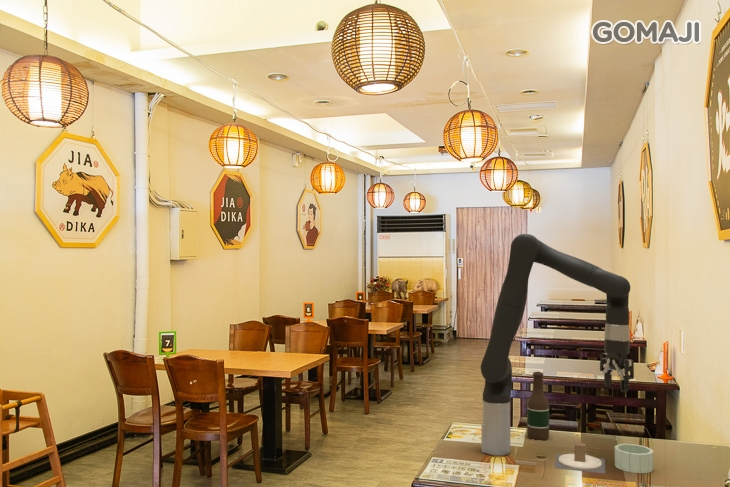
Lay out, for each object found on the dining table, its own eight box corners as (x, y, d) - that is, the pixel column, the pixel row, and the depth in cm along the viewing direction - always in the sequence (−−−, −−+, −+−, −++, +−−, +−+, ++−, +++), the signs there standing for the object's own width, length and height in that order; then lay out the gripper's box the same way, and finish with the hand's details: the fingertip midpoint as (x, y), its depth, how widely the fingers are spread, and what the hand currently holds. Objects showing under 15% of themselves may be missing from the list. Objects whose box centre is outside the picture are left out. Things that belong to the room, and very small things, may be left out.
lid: (557, 467, 197) (557, 447, 197) (559, 454, 209) (559, 436, 210) (601, 472, 193) (601, 452, 193) (601, 459, 205) (601, 440, 205)
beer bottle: (550, 441, 226) (549, 374, 227) (527, 440, 228) (527, 373, 228) (548, 435, 234) (548, 370, 234) (526, 434, 235) (526, 370, 236)
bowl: (615, 471, 194) (615, 452, 194) (614, 461, 205) (614, 442, 205) (654, 476, 190) (654, 456, 191) (651, 464, 201) (651, 446, 201)
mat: (554, 469, 197) (554, 467, 197) (556, 454, 211) (556, 453, 211) (605, 474, 191) (605, 473, 191) (604, 459, 206) (604, 458, 206)
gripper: (593, 335, 207) (592, 384, 207) (620, 341, 194) (619, 394, 193) (613, 335, 209) (612, 383, 209) (641, 341, 195) (640, 393, 195)
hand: (615, 388), depth 201 cm, fingers open, 8 cm apart
